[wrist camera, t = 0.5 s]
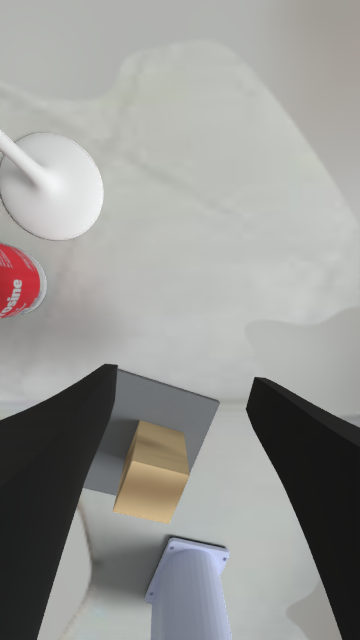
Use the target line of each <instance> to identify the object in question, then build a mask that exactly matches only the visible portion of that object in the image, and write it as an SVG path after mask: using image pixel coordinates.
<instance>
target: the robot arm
mask: <svg viewBox="0 0 360 640" xmlns="http://www.w3.org/2000/svg"><path fill="white" fill-rule="evenodd" d="M117 368H118V365H113V364H104V365H102V366H101V367H99V368H98V369H96V370H95V371H93V372H92V373H90V374H89V375H87V376H86V377H84V378H83V379H81V380H80V381H78V382H77V383H75V384H73V385H72V386H70V387H68V388H67V389H65V390H63V391H62V392H60V393H58V394H56V395H55V396H53V397H51V398H49V399H47V400H45V401H43V402H41V403H39V404H37V405H35V406H33V407H31V408H29V409H26V410H24V411H22V412H19V413H17V414H15V415H12V416H10V417H7V418H5V419H3V420H0V640H37V637H38V634H39V630H40V627H41V623H42V620H43V616H44V613H45V609H46V606H47V602H48V599H49V595H50V592H51V589H52V586H53V582H54V579H55V576H56V572H57V569H58V566H59V562H60V559H61V555H62V552H63V549H64V545H65V542H66V539H67V536H68V533H69V529H70V526H71V523H72V520H73V517H74V513H75V510H76V507H77V504H78V501H79V498H80V495H81V492H82V488H83V485H84V482H85V480H86V477H87V474H88V471H89V469H90V466H91V464H92V462H93V459H94V457H95V454H96V452H97V450H98V447H99V445H100V442H101V440H102V438H103V435H104V433H105V430H106V428H107V425H108V423H109V420H110V417H111V413H112V410H113V406H114V403H115V395H116V382H117ZM246 411H247V414H248V417H249V419H250V422H251V424H252V427H253V429H254V431H255V433H256V435H257V437H258V439H259V441H260V442H261V444H262V446H263V448H264V450H265V452H266V454H267V455H268V457H269V459H270V461H271V463H272V465H273V466H274V468H275V470H276V472H277V474H278V476H279V478H280V480H281V482H282V484H283V486H284V488H285V490H286V493H287V495H288V497H289V500H290V502H291V504H292V506H293V509H294V511H295V513H296V516H297V518H298V521H299V523H300V526H301V528H302V530H303V533H304V535H305V538H306V540H307V543H308V545H309V548H310V551H311V553H312V556H313V559H314V561H315V564H316V567H317V569H318V572H319V574H320V577H321V580H322V582H323V585H324V588H325V591H326V594H327V596H328V599H329V602H330V605H331V608H332V611H333V614H334V616H335V620H336V622H337V625H338V628H339V631H340V634H341V637H342V640H360V428H359V427H357V426H355V425H353V424H351V423H349V422H347V421H344V420H342V419H340V418H338V417H336V416H334V415H332V414H331V413H329V412H327V411H325V410H323V409H321V408H319V407H317V406H315V405H313V404H312V403H310V402H308V401H307V400H305V399H303V398H301V397H300V396H298V395H296V394H294V393H293V392H291V391H289V390H288V389H286V388H284V387H282V386H281V385H278V384H277V383H275V382H273V381H271V380H269V379H267V378H260V377H255V378H254V381H253V385H252V389H251V392H250V396H249V400H248V403H247V407H246ZM229 556H230V553H229V550H228V549H225V548H220V547H216V546H211V545H206V544H202V543H197V542H192V541H188V540H183V539H178V538H171V539H170V540H169V541H168V544H167V546H166V548H165V551H164V553H163V555H162V558H161V560H160V562H159V565H158V567H157V569H156V571H155V574H154V576H153V578H152V581H151V583H150V585H149V588H148V590H147V592H146V595H145V602H146V603H150V604H152V617H151V640H232V635H231V630H230V625H229V620H228V615H227V610H226V604H225V599H224V594H223V589H222V584H221V579H220V575H221V573H222V571H223V569H224V567H225V564H226V562H227V560H228V558H229Z"/></svg>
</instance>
